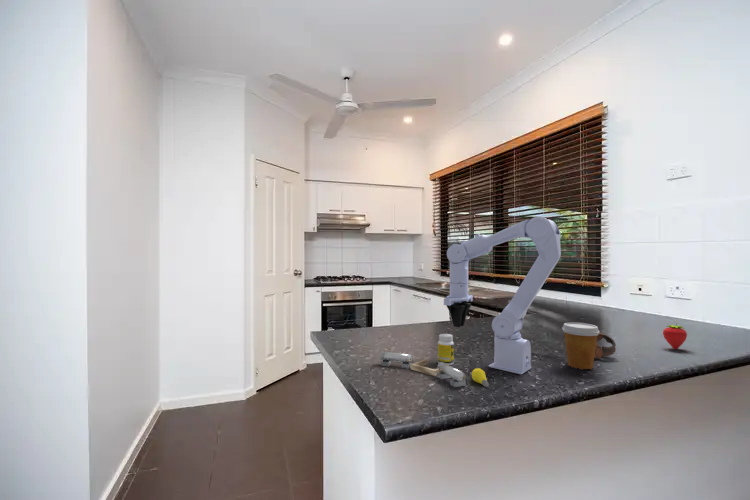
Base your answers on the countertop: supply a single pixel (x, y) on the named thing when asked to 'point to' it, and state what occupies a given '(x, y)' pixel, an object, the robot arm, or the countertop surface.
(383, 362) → the grey bar handle
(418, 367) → the coupling seat
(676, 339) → the strawberry
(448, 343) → the supplement bottle
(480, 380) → the light bulb
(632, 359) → the countertop surface
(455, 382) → the shaft
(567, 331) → the disposable coffee cup
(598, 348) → the pottery mug
